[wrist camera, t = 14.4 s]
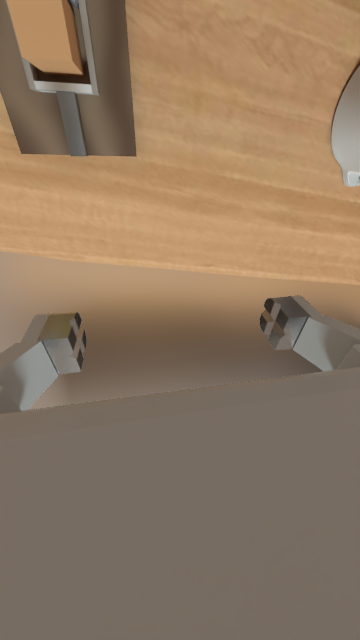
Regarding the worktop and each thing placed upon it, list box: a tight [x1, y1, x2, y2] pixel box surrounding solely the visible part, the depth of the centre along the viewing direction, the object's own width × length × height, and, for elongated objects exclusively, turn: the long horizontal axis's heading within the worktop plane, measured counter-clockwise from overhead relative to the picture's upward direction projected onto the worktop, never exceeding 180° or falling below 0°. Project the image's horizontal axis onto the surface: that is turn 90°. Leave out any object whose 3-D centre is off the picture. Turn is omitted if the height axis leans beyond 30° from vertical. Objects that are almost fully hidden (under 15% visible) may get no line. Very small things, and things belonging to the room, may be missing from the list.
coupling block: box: [7, 0, 85, 77], centre depth 21 cm, size 4×4×7 cm
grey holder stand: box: [0, 0, 136, 156], centre depth 23 cm, size 14×18×4 cm
